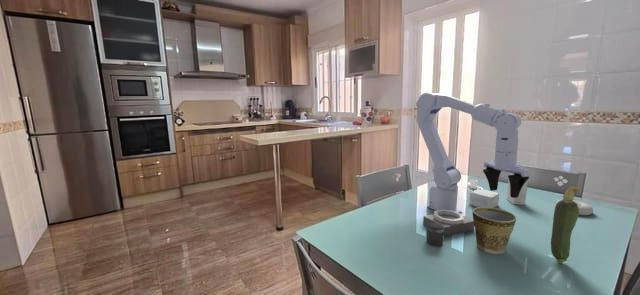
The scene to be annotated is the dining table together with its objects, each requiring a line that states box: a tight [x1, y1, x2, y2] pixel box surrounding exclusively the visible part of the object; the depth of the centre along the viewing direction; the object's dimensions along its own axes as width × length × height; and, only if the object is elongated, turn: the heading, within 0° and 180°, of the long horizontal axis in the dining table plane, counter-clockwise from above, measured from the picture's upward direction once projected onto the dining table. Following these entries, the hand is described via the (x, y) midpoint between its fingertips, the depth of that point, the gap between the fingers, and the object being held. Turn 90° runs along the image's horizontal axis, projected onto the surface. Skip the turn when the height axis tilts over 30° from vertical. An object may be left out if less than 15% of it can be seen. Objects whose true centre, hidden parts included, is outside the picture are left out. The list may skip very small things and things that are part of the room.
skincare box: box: [506, 172, 529, 206], centre depth 108 cm, size 6×4×12 cm
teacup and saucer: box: [463, 179, 484, 191], centre depth 127 cm, size 9×8×4 cm
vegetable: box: [550, 185, 580, 265], centre depth 67 cm, size 4×4×20 cm
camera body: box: [422, 209, 475, 238], centre depth 88 cm, size 9×12×4 cm
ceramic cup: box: [472, 206, 517, 255], centre depth 76 cm, size 13×10×10 cm
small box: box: [468, 188, 500, 208], centre depth 106 cm, size 8×8×5 cm
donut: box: [555, 199, 594, 216], centre depth 99 cm, size 10×4×10 cm
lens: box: [426, 223, 444, 248], centre depth 78 cm, size 4×4×5 cm
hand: (503, 193), depth 87 cm, fingers open, 7 cm apart
